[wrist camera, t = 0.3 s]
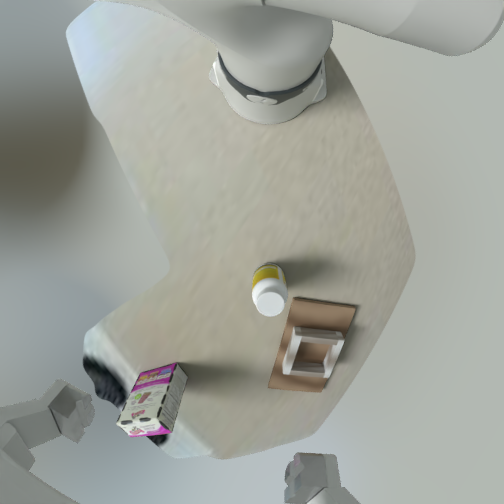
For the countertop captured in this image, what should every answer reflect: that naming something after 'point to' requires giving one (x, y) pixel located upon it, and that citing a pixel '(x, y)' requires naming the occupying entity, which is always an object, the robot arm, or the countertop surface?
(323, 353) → the jig board
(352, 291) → the countertop surface
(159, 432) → the candy bar box
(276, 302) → the supplement bottle
